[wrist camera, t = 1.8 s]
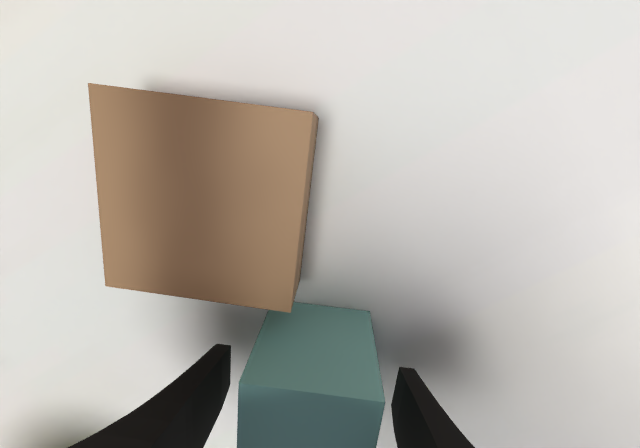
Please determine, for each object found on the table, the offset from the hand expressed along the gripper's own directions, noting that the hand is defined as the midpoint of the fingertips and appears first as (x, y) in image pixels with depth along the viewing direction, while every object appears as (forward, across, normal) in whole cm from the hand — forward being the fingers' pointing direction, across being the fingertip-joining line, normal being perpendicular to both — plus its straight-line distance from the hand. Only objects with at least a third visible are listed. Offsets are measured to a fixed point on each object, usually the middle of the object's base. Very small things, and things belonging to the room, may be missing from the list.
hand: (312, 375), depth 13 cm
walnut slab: (+2, +4, -7) cm, 9 cm away
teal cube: (+2, 0, 0) cm, 2 cm away
